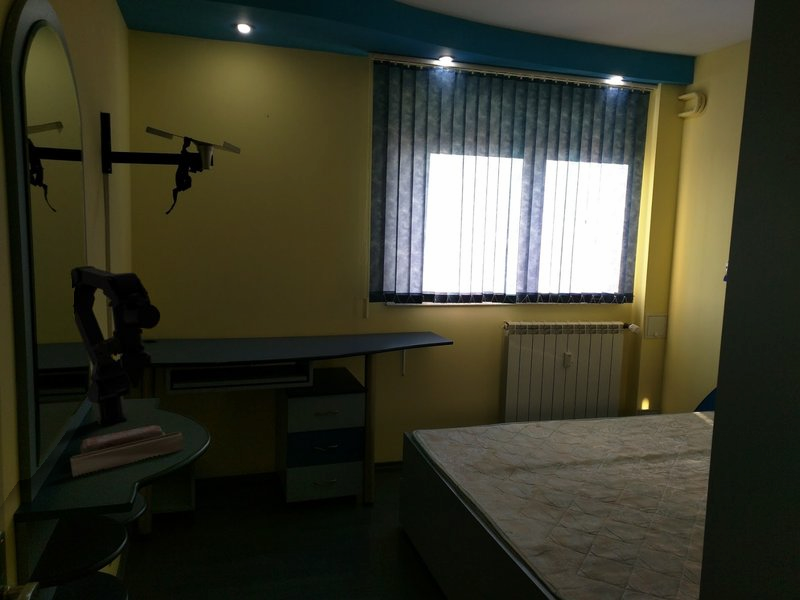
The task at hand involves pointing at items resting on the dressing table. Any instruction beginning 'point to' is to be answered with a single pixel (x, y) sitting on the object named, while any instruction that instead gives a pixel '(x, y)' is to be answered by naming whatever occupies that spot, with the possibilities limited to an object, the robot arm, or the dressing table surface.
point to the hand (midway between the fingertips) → (135, 387)
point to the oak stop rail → (126, 453)
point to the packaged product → (120, 438)
